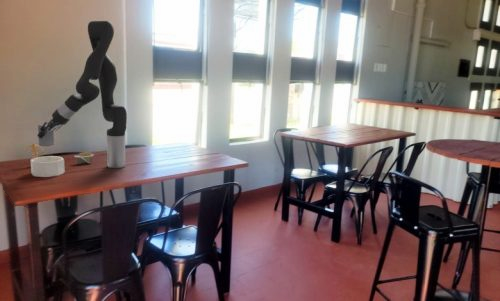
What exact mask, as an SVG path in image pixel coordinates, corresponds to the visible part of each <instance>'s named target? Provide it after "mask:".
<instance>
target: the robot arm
mask: <svg viewBox="0 0 500 301" xmlns="http://www.w3.org/2000/svg"><path fill="white" fill-rule="evenodd" d="M87 35H88V38H89V41H90V44H91V45H90V46H91V48H92V49H91V50H92V52H91V53H90V54H89V55H88V57H87V59H86V61H85V65H84V69H83V72H82V74H81V76H80V77H79V79H78V81H77V82H76V84H75V91H76V92H77V94H76V93H75V94H74V93H73V94H71V95H70V96H69V97H68V98H66V100H65V101H63V103H61V104H60V105H59V106H58V107H57V108H56V109H55V110H54V111H53V113H52V114H51V119H50V120H49V121H48V122H47V121H46V122H44V123H42V124H43V126H42V127H41V128H40V130H41V132H40V133H39V134H37V135H36V136H37V137H38V139H39V138H42V137H43V136H44V135H45V134H46V133H47V132H48V131H51V130H53V133H55V131H58V130H59V129H60V128H62V127H63V126H64V125H65V126H66V125H67V123H69V122H70V121H71V119H73V118H74V116H76V114H77V112H79V111H80V110H81V108H83V107H84V106H85V105H86V106H87V104H89V103H92V102H93V101H94V100H96V99H97V98H98V96H99V95H100V98H101V111H102V116H103V119H104V120H105V121H106V122H109V123H112V127H110V128H108V129H106V154H107V155H106V157H107V158H106V159H107V161H106V162H107V168H111V169H121V168H125V167H126V131H127V118H128V114H127V110H126V108H125V106H123V105H120V104H119V105H118V104H115V102H114V92H115V89H116V87H117V86H116V85H117V83H118V74H117V69H116V65H115V63H114V62H113V60H112V59H111V58H110V57H109V56H108V54H107V53H108V50H109V48H110V45H111V44H112V41H113V38H114V35H115V28H114V26H113V24H112V23H111V21H108V20H92V21H89V22H88V25H87ZM90 80H91V81H97V80H98V84H99V86H97V85H96V84H94V83H92V82H90ZM49 127H50V128H51V129H50V128H49Z"/></svg>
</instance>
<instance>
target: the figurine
mask: <svg viewBox="0 0 500 301" xmlns="http://www.w3.org/2000/svg"><path fill="white" fill-rule="evenodd" d="M37 147H38V148H40V149H41V151H42V153H43V152H44V149H43V148H42V146H39V144H36V143H35V142H33V143H31V145H29V146H27V147H26V149H25V152H28V149H30V148H31V149H32V150H31V154H32V159H34V158H37V157H38V154H39V153H38V149H37ZM34 154H36V155H34Z"/></svg>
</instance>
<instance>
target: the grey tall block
mask: <svg viewBox="0 0 500 301" xmlns="http://www.w3.org/2000/svg"><path fill="white" fill-rule="evenodd" d="M43 124H44V123H42V124H38V125H37V129H38V134H39V133H40V132H41V130H40V128H41V127H42V126H43ZM49 128H50V127H49ZM50 129H51V128H50ZM38 134H37V135H38ZM54 141H55V140H54V132H53V130H51V131H48V132H47V133H46V134H45V135H44V136H43V137H42V138H39V137H38V146H40V147H52V146H54V145H55V142H54Z"/></svg>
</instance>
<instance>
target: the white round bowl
mask: <svg viewBox="0 0 500 301" xmlns="http://www.w3.org/2000/svg"><path fill="white" fill-rule="evenodd" d="M65 169H66V168H65V159H64V158H63V157H62V156H55V155H47V156H46V155H45V156H37V158H36V157H34V159H33V158H31V159H30V173H31V175H32V176H33V177H41V178H50V177H58V176H60V175H62V174H63V175H64V174H65V173H66V172H65Z"/></svg>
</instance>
